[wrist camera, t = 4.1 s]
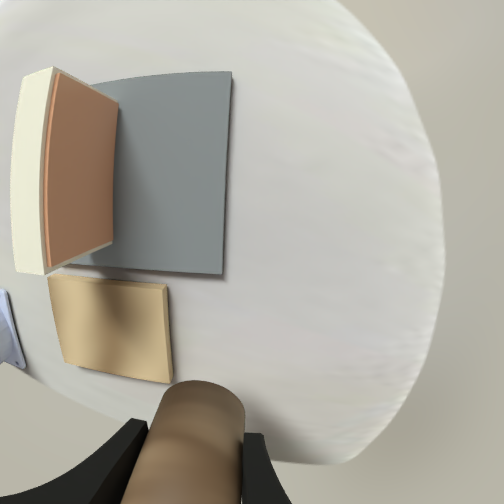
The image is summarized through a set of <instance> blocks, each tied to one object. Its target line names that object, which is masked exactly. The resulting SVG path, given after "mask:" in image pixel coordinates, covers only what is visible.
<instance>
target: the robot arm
mask: <svg viewBox="0 0 504 504" xmlns="http://www.w3.org/2000/svg"><path fill="white" fill-rule="evenodd" d="M3 361H4V362H7V363H9V364H11V365H14V366H16V367H19V368H21V369H24V368H25V367H26V364H25V361H24V357H23V354H22V351H21V348H20V344H19V341H18V337H17V334H16V330H15V326H14V322H13V318H12V314H11V309H10V305H9V300H8V295H7V292H6V291H5V290H4V289H1V288H0V364H1V363H2V362H3ZM148 431H149V430H148V426H147V422H146V421H144V420H139V419H134V418H131V419H130V420H129V421H128V422H127V423H126V424H125V425H124V426H123V427H122V428H120V430H119V431H118V432H116V433H115V434H114V435H113V436H112V437H111V438H110V439H109V440H108V441H107V442H106V443H105V444H103V445H102V446H101V447H100V448H99V449H98V450H97V451H95V452H94V453H93V454H92V455H90V456H89V457H88V458H87V459H85V460H84V461H83V462H81V463H80V464H79V465H77V466H76V467H75V468H73V469H71V470H70V471H68V472H66V473H65V474H63V475H61V476H59V477H58V478H56V479H54V480H52V481H50V482H48V483H45V484H43V485H41V486H38V487H36V488H33V489H30V490H27V491H24V492H21V493H17V494H14V495H8V496H3V497H0V504H120V503H121V501H122V498H123V495H124V493H125V490H126V488H127V485H128V482H129V480H130V477H131V475H132V472H133V469H134V467H135V464H136V462H137V459H138V457H139V454H140V452H141V449H142V446H143V444H144V441H145V439H146V436H147V434H148ZM242 504H292V503H291V501H290V500H289V498H288V496H287V495H286V493H285V491H284V489H283V487H282V486H281V484H280V482H279V480H278V477H277V475H276V473H275V471H274V469H273V466H272V464H271V461H270V458H269V456H268V453H267V449H266V446H265V441H264V435H262V434H261V433H244V437H243V457H242Z"/></svg>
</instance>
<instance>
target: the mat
mask: <svg viewBox="0 0 504 504" xmlns="http://www.w3.org/2000/svg"><path fill="white" fill-rule="evenodd" d="M231 81H232V71H219V72H188V73H173V74H162V75H152V76H143V77H135V78H128V79H121V80H115V81H109V82H104V83H99V84H93V85H90V86H92V87H94V88H96V89H98V90H99V91H101V92H103V93H105V94H107V95H108V96H110V97H112V98H114V99H115V100H117V101H118V104H119V107H118V116H117V126H116V138H115V152H114V171H113V240H112V244H111V245H108V246H106V247H104V248H102V249H99V250H97V251H95V252H93V253H91V254H88V255H86V256H84V257H82V258H80V259H78V260H75V261H73V262H71V263H70V264H82V265H94V266H106V267H118V268H132V269H145V270H160V271H175V272H190V273H207V274H222V273H223V239H224V210H225V186H226V164H227V145H228V127H229V111H230V96H231Z"/></svg>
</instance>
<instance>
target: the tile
mask: <svg viewBox="0 0 504 504" xmlns="http://www.w3.org/2000/svg"><path fill="white" fill-rule="evenodd" d="M118 107H119V104H118V101H117V100H115V99H114V98H112V97H110V96H108V95H107V94H105V93H103V92H101V91H99V90H98V89H96V88H94V87H92V86H90V85H88V84H87V83H85V82H83V81H81V80H79V79H77V78H75V77H73V76H72V75H70V74H68V73H66V72H64V71H62V70H60V69H58V68H56V67H54V66H52V67H49V68H46V69H43V70H41V71H38V72H35V73H32V74H30V75H27V76H25V77H23V80H22V84H21V89H20V94H19V100H18V106H17V112H16V119H15V126H14V135H13V145H12V157H11V179H10V207H11V229H12V242H13V252H14V261H15V269H16V272H23V273H30V274H38V275H46V274H48V273H50V272H52V271H54V270H56V269H59V268H61V267H63V266H65V265H67V264H69V263H71V262H73V261H75V260H78V259H80V258H82V257H84V256H86V255H88V254H91V253H93V252H95V251H97V250H99V249H102V248H104V247H106V246H108V245H111V244H112V240H113V171H114V152H115V138H116V126H117V116H118Z"/></svg>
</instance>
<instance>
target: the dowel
mask: <svg viewBox="0 0 504 504" xmlns="http://www.w3.org/2000/svg"><path fill="white" fill-rule="evenodd" d="M244 430H245V410H244V407H243V404H242V403H241V401H240V400H239V399H238V398H237V396H235V395H234V394H233V393H232V392H231V391H229V390H228V389H226V388H224V387H222V386H220V385H217V384H214V383H211V382H207V381H198V380H191V381H184V382H180V383H177V384H175V385H173V386H171V387H170V388H169V389H168V390H167V391H166V392H165V393H164V395H163V397H162V400H161V402H160V404H159V407H158V409H157V412H156V414H155V417H154V419H153V422H152V424H151V427H150V429H149V431H148V434H147V436H146V439H145V441H144V444H143V446H142V449H141V452H140V454H139V457H138V459H137V462H136V464H135V467H134V469H133V472H132V475H131V477H130V480H129V482H128V485H127V488H126V490H125V493H124V495H123V498H122V501H121V503H120V504H241V498H242V457H243V437H244Z"/></svg>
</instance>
